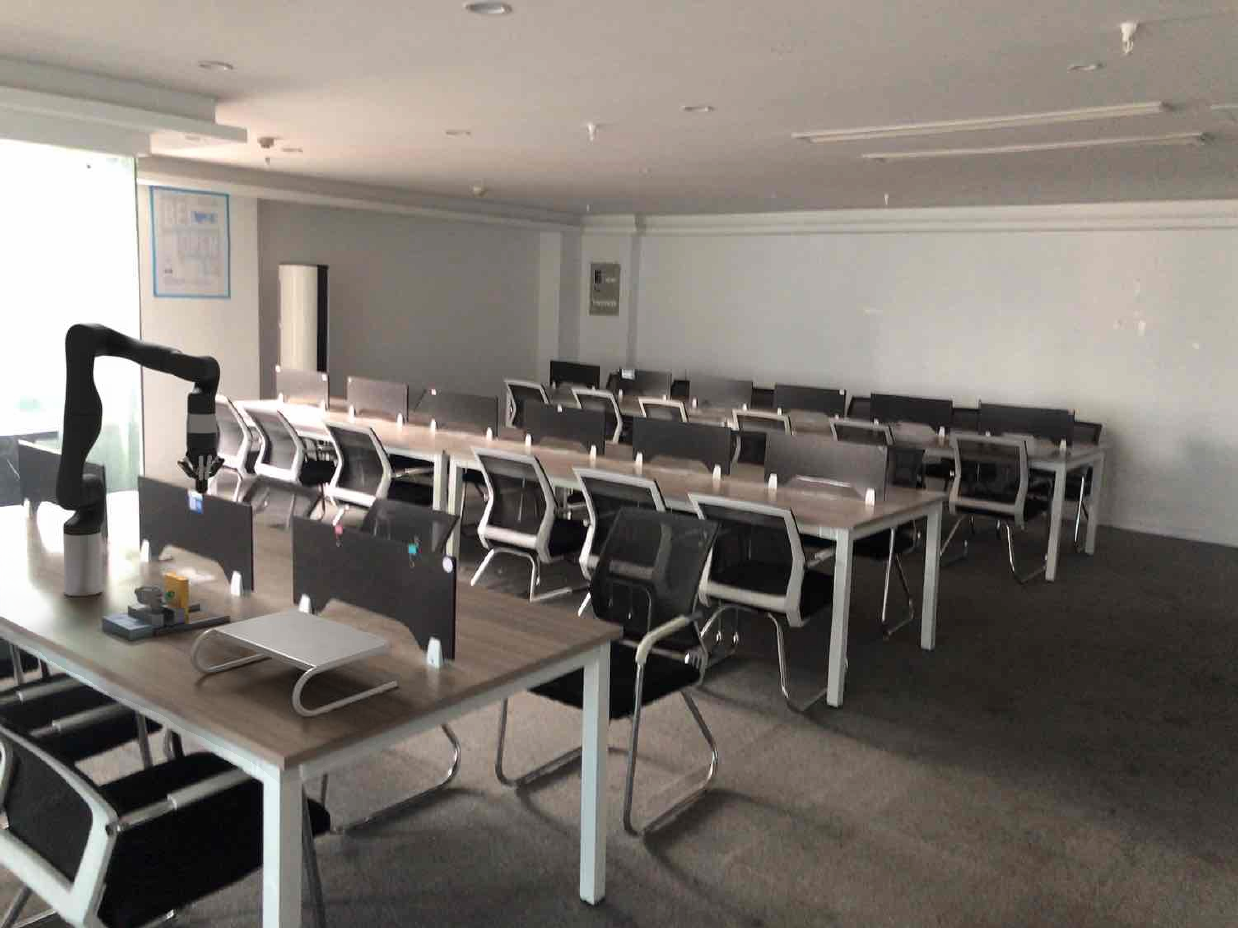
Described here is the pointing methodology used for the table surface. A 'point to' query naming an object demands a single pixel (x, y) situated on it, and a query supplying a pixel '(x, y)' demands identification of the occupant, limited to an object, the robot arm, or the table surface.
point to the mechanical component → (154, 597)
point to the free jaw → (176, 601)
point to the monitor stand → (299, 648)
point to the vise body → (150, 623)
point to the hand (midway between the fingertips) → (201, 493)
